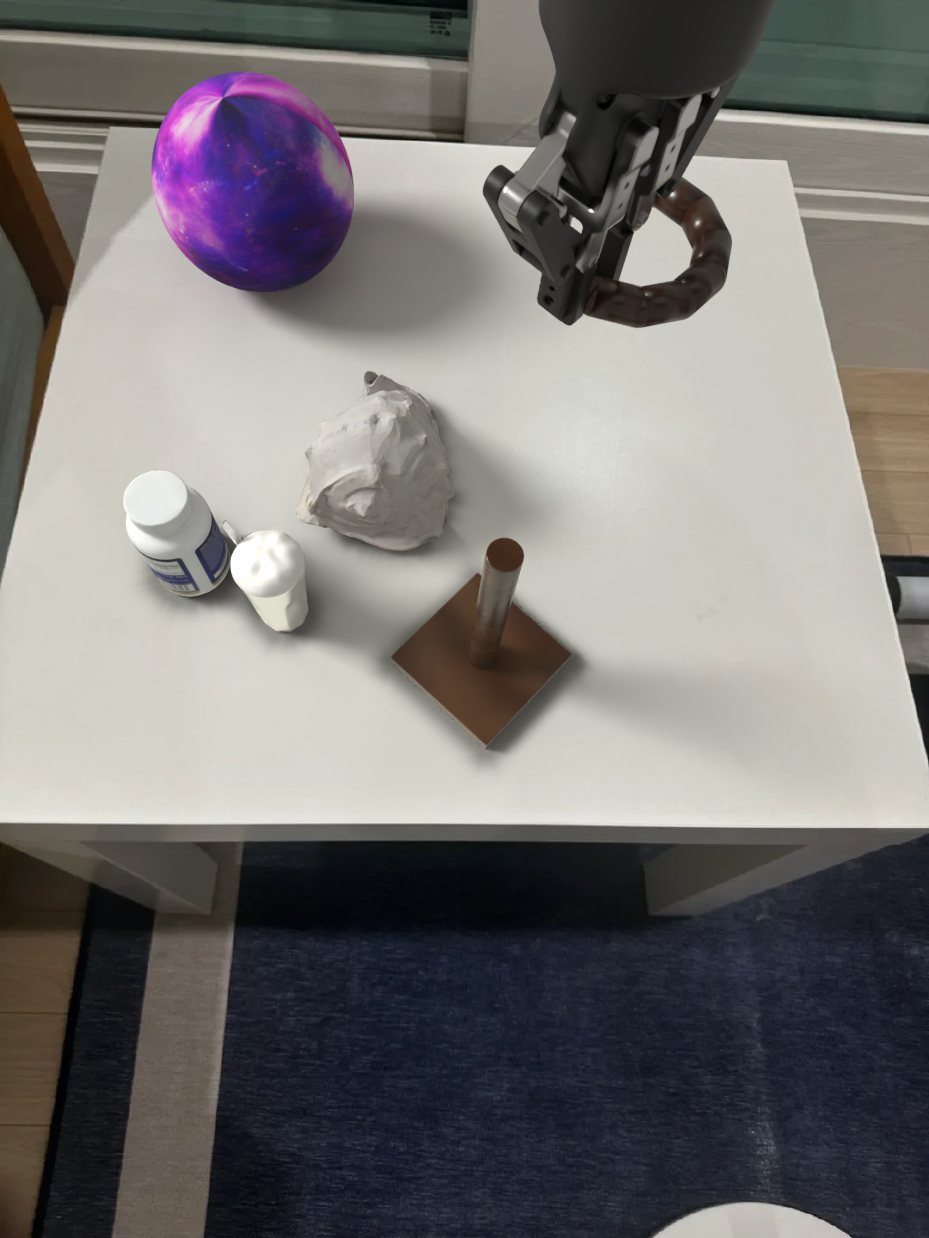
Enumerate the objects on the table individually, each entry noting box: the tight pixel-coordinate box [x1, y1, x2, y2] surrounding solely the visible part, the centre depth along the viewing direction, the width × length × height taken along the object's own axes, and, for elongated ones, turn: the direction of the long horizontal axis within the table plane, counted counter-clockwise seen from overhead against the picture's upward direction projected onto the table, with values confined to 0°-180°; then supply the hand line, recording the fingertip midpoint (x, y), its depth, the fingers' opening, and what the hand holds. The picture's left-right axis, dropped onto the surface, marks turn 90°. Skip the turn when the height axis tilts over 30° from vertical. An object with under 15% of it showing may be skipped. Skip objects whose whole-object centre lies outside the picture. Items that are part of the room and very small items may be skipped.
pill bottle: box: [122, 469, 231, 597], centre depth 57 cm, size 5×5×10 cm
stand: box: [389, 537, 573, 750], centre depth 52 cm, size 9×9×17 cm
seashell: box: [295, 370, 455, 552], centre depth 61 cm, size 12×14×10 cm
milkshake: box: [220, 519, 309, 632], centre depth 56 cm, size 4×5×10 cm
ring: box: [567, 176, 733, 329], centre depth 41 cm, size 10×10×2 cm
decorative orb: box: [151, 71, 355, 294], centre depth 65 cm, size 15×15×15 cm
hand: (576, 296), depth 41 cm, fingers closed on ring, 2 cm apart
